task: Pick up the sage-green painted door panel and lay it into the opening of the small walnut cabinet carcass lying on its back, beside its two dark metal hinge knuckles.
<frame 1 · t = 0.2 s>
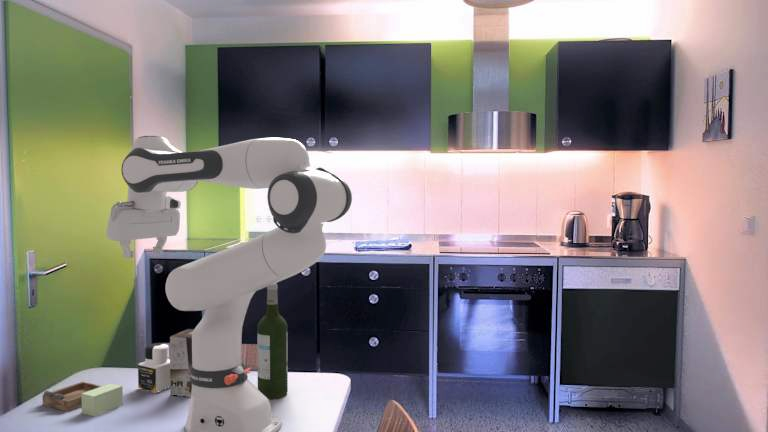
hand: (143, 255, 137), 38 cm above the table, tool pointing down, fingers open, 8 cm apart
coffee box: (189, 391, 150), on the table
wine bottle: (272, 394, 147), on the table
carcass: (75, 400, 142), on the table
medicine bottle: (157, 387, 152), on the table
door panel: (102, 409, 137), on the table
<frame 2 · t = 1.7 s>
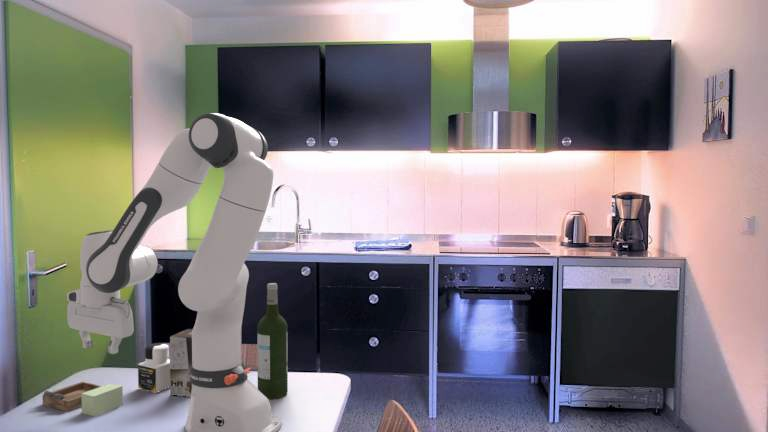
hand: (100, 350, 136), 15 cm above the table, tool pointing down, fingers open, 8 cm apart
nothing on the table moved.
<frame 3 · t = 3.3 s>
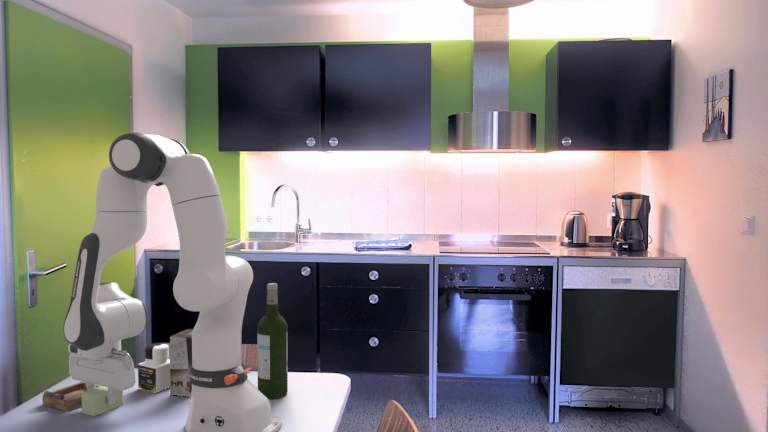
hand: (102, 401, 137), 2 cm above the table, tool pointing down, fingers closed on door panel, 4 cm apart
door panel: (102, 408, 137), on the table, touching gripper
everything else where it was.
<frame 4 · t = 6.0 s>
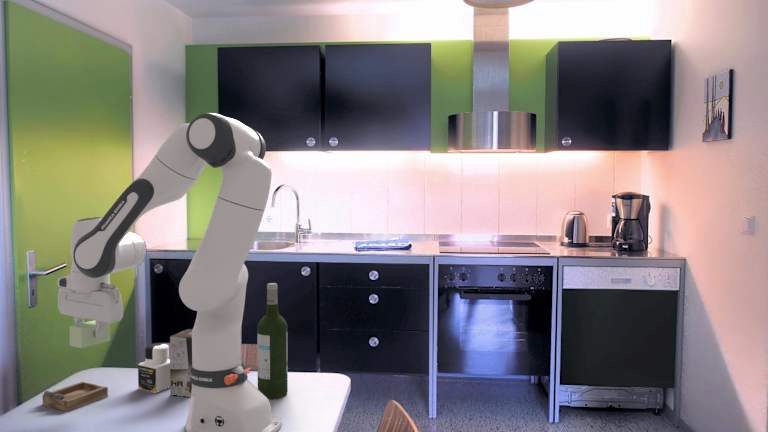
hand: (90, 335, 138), 18 cm above the table, tool pointing down, fingers closed on door panel, 4 cm apart
door panel: (90, 343, 138), point 16 cm above the table, touching gripper
everything else where it was.
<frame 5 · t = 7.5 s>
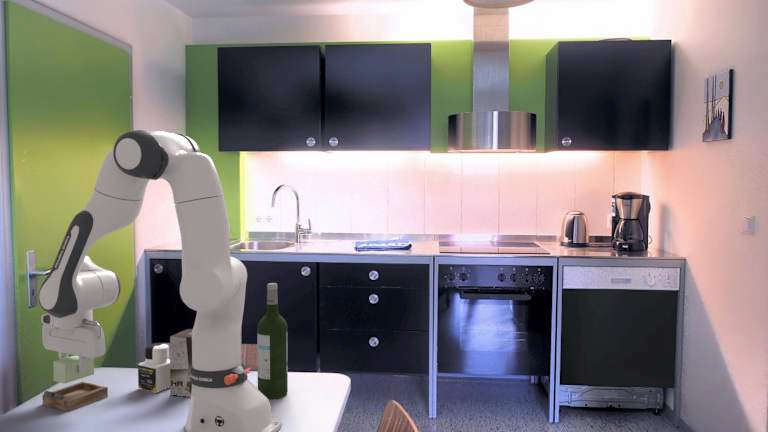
hand: (74, 370, 142), 8 cm above the table, tool pointing down, fingers closed on door panel, 4 cm apart
door panel: (74, 377, 142), point 6 cm above the table, touching gripper
everything else where it was.
when the fingers open (4 cm above the table, at t = 8.6 s): door panel drops 1 cm, resting on carcass.
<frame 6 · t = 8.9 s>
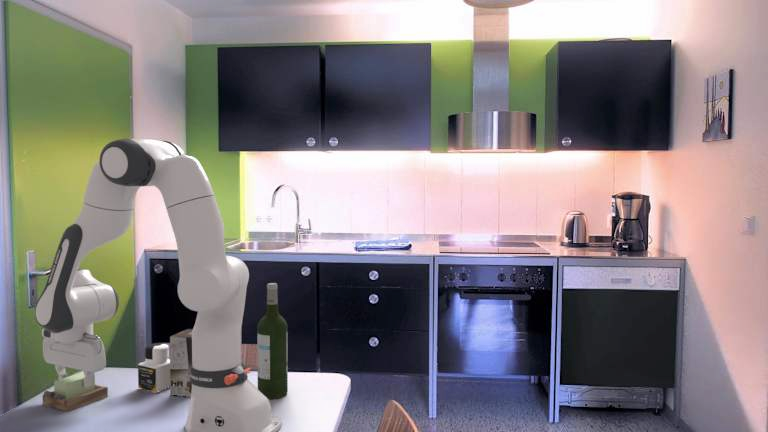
hand: (75, 383, 142), 4 cm above the table, tool pointing down, fingers open, 8 cm apart
door panel: (75, 396, 142), point 1 cm above the table, touching carcass
everything else where it was.
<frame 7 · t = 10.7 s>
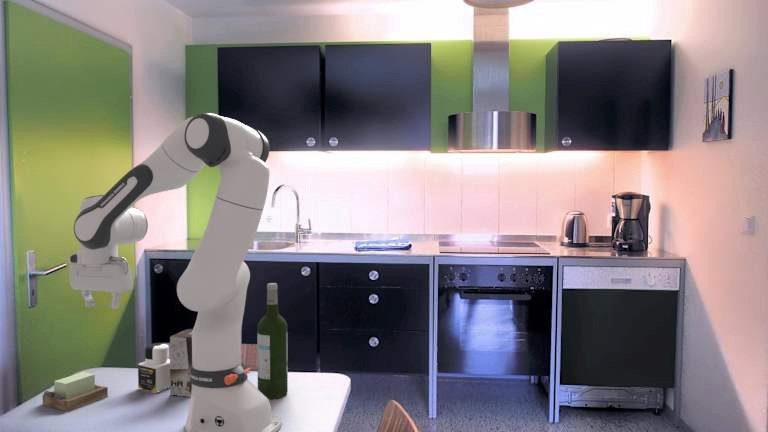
hand: (102, 307, 146), 23 cm above the table, tool pointing down, fingers open, 8 cm apart
nothing on the table moved.
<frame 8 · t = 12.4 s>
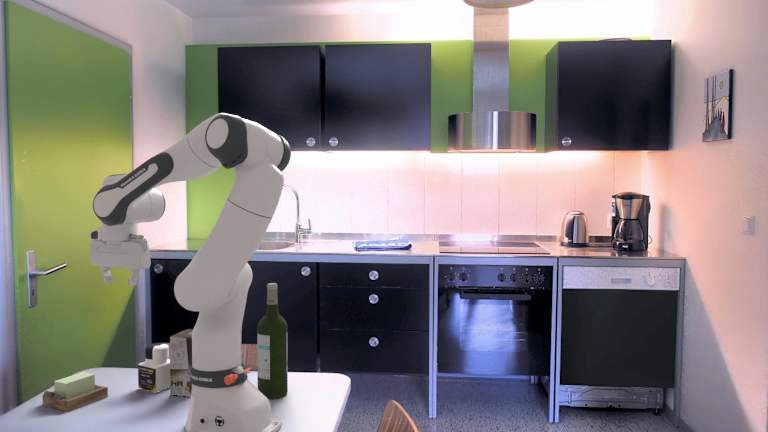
hand: (120, 283, 150), 29 cm above the table, tool pointing down, fingers open, 8 cm apart
nothing on the table moved.
at the end: door panel 0.0 cm off-centre on the carcass, point 1.0 cm above the carcass's base; door panel tilted 0°; the gripper is holding nothing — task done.
